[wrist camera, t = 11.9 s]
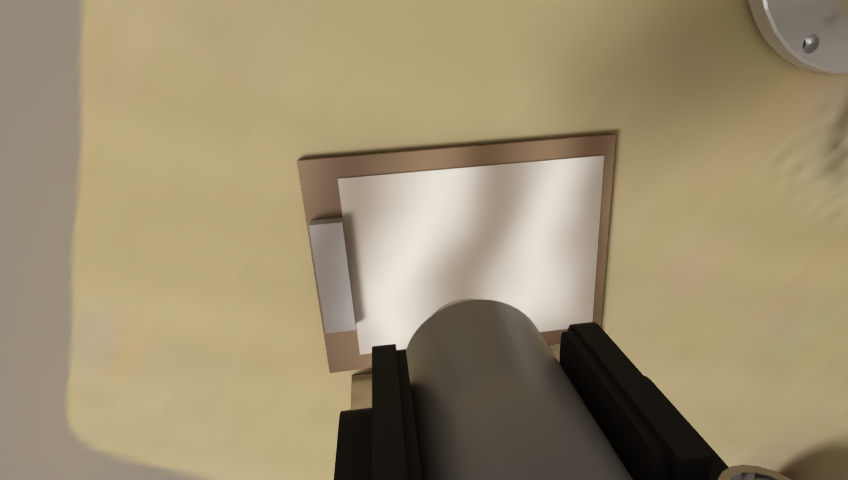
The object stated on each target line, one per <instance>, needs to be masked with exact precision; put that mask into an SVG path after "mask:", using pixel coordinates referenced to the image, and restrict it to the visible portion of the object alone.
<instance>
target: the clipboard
mask: <svg viewBox="0 0 848 480" xmlns="http://www.w3.org/2000/svg"><path fill="white" fill-rule="evenodd" d="M615 142H616V135H615V134H603V135H591V136H579V137H567V138H554V139H542V140H530V141H518V142H506V143H494V144H481V145H469V146H457V147H445V148H433V149H421V150H409V151H396V152H384V153H372V154H360V155H348V156H336V157H323V158H311V159H299V160H297V164H298V170H299V177H300V183H301V190H302V196H303V203H304V209H305V216H306V222H307V228H308V235H309V241H310V248H311V254H312V261H313V267H314V274H315V280H316V286H317V293H318V299H319V306H320V312H321V319H322V325H323V331H324V338H325V344H326V351H327V357H328V364H329V370H330V373H333V372H340V371H348V370H356V369H364V368H372V346H381V345H390V344H396V350H404V349H407V346H408V344H409V342H410V340H411V338H412V336H413V335H414V333H415V332H416V330H417V329H418V328H419V327H420V326H421V325H422V324H423V323H424V322H425V321H426V320H427V319H428V318H429V317H431V316H432V315H433V314H434V313H435V312H436V311H437V310H438V309H439V308H441V307H442V306H444V305H446V304H448V303H450V302H452V301H456V300H460V299H478V300H480V299H484V300H494V301H499V302H503V303H506V304H509V305H511V306H513V307H515V308H517V309H518V310H520V311H521V312H523V313H524V314H525V315H526V316H527V317H529V318H530V319H531V321H532V322H533V323H534V325H535V326H536V327H537V329H538V331H539V332H540V334H541V335H542V337H543V338H544V340H545V342H546V343H547V345H551V344H559V343H560V342H561V334H562V332H564V331H568V327H569V326H570V325H571V324H579V323H588V322H596V323H597V324H598V325H599V326H600V327H601V319H602V306H603V293H604V281H605V268H606V255H607V243H608V230H609V218H610V205H611V192H612V180H613V167H614V155H615Z"/></svg>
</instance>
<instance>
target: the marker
mask: <svg viewBox="0 0 848 480" xmlns="http://www.w3.org/2000/svg"><path fill="white" fill-rule="evenodd" d="M406 354H407V362H408V370H409V378H410V386H411V394H412V402H413V410H414V418H415V426H416V434H417V442H418V450H419V458H420V467H421V475H422V480H633V479H632V477H631V475H630V474H629V472H628V471H627V469H626V468H625V466H624V464H623V463H622V461H621V460H620V458H619V457H618V455H617V453H616V452H615V450H614V449H613V447H612V446H611V444H610V442H609V441H608V439H607V438H606V436H605V434H604V433H603V431H602V430H601V428H600V427H599V425H598V423H597V422H596V420H595V419H594V417H593V416H592V414H591V412H590V411H589V409H588V408H587V406H586V405H585V403H584V401H583V400H582V398H581V397H580V395H579V394H578V392H577V390H576V389H575V387H574V386H573V384H572V383H571V381H570V379H569V378H568V376H567V375H566V373H565V372H564V370H563V368H562V367H561V365H560V364H559V362H558V360H557V359H556V357H555V356H554V354H553V353H552V351H551V349H550V348H549V346H548V345H547V343H546V342H545V340H544V338H543V337H542V335H541V334H540V332H539V331H538V329H537V327H536V326H535V325H534V323H533V322H532V321H531V319H530V318H529V317H527V316H526V315H525V314H524V313H523V312H521V311H520V310H518V309H517V308H515V307H513V306H511V305H509V304H506V303H503V302H499V301H494V300H484V299H480V300H478V299H460V300H456V301H452V302H450V303H448V304H446V305H444V306H442V307H441V308H439V309H438V310H437V311H436V312H435V313H434V314H433V315H432V316H431V317H429V318H428V319H427V320H426V321H425V322H424V323H423V324H422V325H421V326H420V327H419V328H418V329H417V330H416V332H415V333H414V335H413V336H412V338H411V340H410V342H409V344H408V346H407V349H406Z"/></svg>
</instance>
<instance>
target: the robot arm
mask: <svg viewBox="0 0 848 480" xmlns="http://www.w3.org/2000/svg"><path fill="white" fill-rule="evenodd" d="M748 1H749V5H750V8H751V11H752V14H753V17H754V20H755V23H756V25H757V27H758V28H759V30H760V32H761V33H762V35H763V37H764V39H765V40H766V42H767V43H768V44H769V45H770V46H771V47H772V48H773V49H774V50H775V51H776V53H777V54H778V55H779V56H780V57H782V58H783V59H785V60H787V61H788V62H790V63H791V64H793V65H795V66H796V67H798V68H802V69H805V70H809V71H812V72H815V73H833V74H845V73H848V0H748ZM559 364H560V365H561V367H562V368H563V370H564V372H565V373H566V375H567V376H568V378H569V379H570V381H571V383H572V384H573V386H574V387H575V389H576V390H577V392H578V394H579V395H580V397H581V398H582V400H583V401H584V403H585V405H586V406H587V408H588V409H589V411H590V412H591V414H592V416H593V417H594V419H595V420H596V422H597V423H598V425H599V427H600V428H601V430H602V431H603V433H604V434H605V436H606V438H607V439H608V441H609V442H610V444H611V446H612V447H613V449H614V450H615V452H616V453H617V455H618V457H619V458H620V460H621V461H622V463H623V464H624V466H625V468H626V469H627V471H628V472H629V474H630V475H631V477H632V479H633V480H791V479H789V478H787V477H785V476H783V475H781V474H779V473H777V472H775V471H772V470H768V469H765V468H762V467H758V466H749V465H739V466H732V467H730V468H729V467H728V466H727V465H726V464H725V463H724V462H723V460H722V459H721V458H720V457H719V456H718V455H717V454H716V453H715V451H714V450H713V449H712V448H711V447H710V446H709V445H708V444H707V443H706V441H705V440H704V439H703V438H702V437H701V436H700V435H699V434H698V432H697V431H696V430H695V429H694V428H693V427H692V426H691V425H690V423H689V422H688V421H687V420H686V419H685V418H684V417H683V416H682V415H681V413H680V412H679V411H678V410H677V409H676V408H675V407H674V406H673V404H672V403H671V402H670V401H669V400H668V399H667V398H666V397H665V396H664V394H663V393H662V392H661V391H660V390H659V389H658V388H657V387H656V385H655V384H654V383H653V382H652V381H651V380H650V379H649V378H647V377H646V376H643V375H642V373H641V372H640V371H639V370H638V369H637V368H636V367H635V366H634V364H633V363H632V362H631V361H630V360H629V359H628V358H627V357H626V355H625V354H624V353H623V352H622V351H621V350H620V349H619V347H618V346H617V345H616V344H615V343H614V342H613V341H612V340H611V338H610V337H609V336H608V335H607V334H606V333H605V332H604V330H603V329H602V328H601V327H600V326H599V325H598V324H597V323H596V322H588V323H579V324H571V325H570V326H569V327H568V331H564V332H562V334H561V342H560V361H559ZM334 480H422V475H421V467H420V458H419V450H418V442H417V434H416V426H415V418H414V410H413V402H412V394H411V386H410V378H409V370H408V362H407V354H406V349H404V350H396V344H390V345H381V346H372V408H364V409H356V410H348V411H341V413H340V418H339V429H338V440H337V451H336V462H335V473H334Z"/></svg>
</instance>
